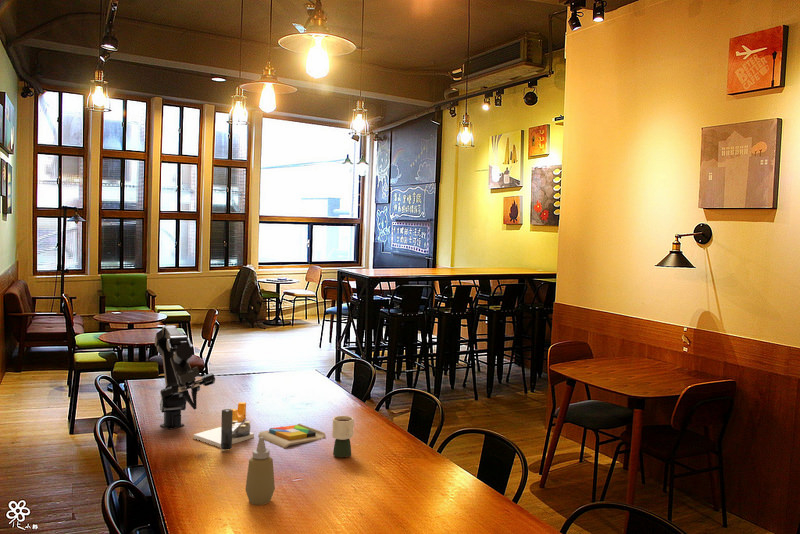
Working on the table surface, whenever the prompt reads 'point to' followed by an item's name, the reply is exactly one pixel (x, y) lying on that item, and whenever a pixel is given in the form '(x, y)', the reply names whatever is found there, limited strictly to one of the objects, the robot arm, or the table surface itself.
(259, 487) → the squeeze bottle
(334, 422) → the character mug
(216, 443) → the cap plate
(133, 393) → the table surface
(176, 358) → the robot arm
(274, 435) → the wooden puzzle
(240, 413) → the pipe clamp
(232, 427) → the dark cylinder with bar
